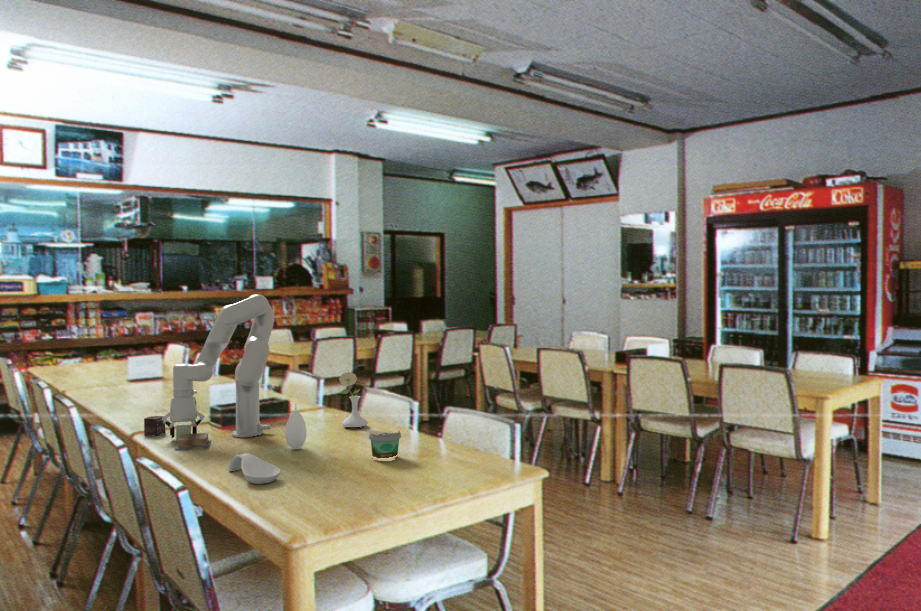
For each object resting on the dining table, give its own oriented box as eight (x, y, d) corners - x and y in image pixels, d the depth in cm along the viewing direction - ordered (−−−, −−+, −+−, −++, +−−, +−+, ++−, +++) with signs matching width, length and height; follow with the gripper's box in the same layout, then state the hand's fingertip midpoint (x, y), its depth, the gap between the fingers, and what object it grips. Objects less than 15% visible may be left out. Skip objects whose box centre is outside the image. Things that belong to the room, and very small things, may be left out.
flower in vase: (370, 424, 299) (370, 370, 298) (364, 430, 287) (364, 374, 286) (342, 423, 300) (342, 369, 299) (335, 429, 289) (335, 373, 288)
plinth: (211, 440, 267) (210, 432, 267) (208, 448, 255) (208, 439, 255) (179, 442, 263) (179, 433, 263) (175, 450, 252) (175, 441, 252)
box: (156, 436, 274) (156, 419, 274) (143, 435, 275) (143, 418, 275) (165, 433, 280) (165, 416, 280) (153, 432, 281) (153, 415, 281)
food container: (374, 464, 235) (374, 436, 235) (368, 460, 240) (368, 433, 240) (406, 460, 241) (406, 433, 240) (399, 456, 246) (400, 429, 246)
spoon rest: (287, 482, 215) (287, 460, 214) (255, 490, 206) (255, 468, 206) (249, 467, 230) (248, 447, 230) (217, 475, 222) (217, 454, 221)
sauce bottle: (281, 450, 252) (281, 404, 252) (293, 445, 260) (293, 401, 259) (298, 452, 250) (298, 406, 249) (310, 447, 257) (310, 402, 256)
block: (190, 438, 272) (190, 423, 271) (189, 440, 267) (189, 426, 267) (177, 438, 270) (177, 424, 270) (176, 441, 265) (176, 427, 265)
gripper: (206, 391, 274) (207, 433, 274) (161, 393, 269) (162, 435, 270) (204, 394, 267) (205, 437, 267) (158, 396, 262) (159, 439, 262)
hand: (183, 436), depth 268 cm, fingers open, 7 cm apart
